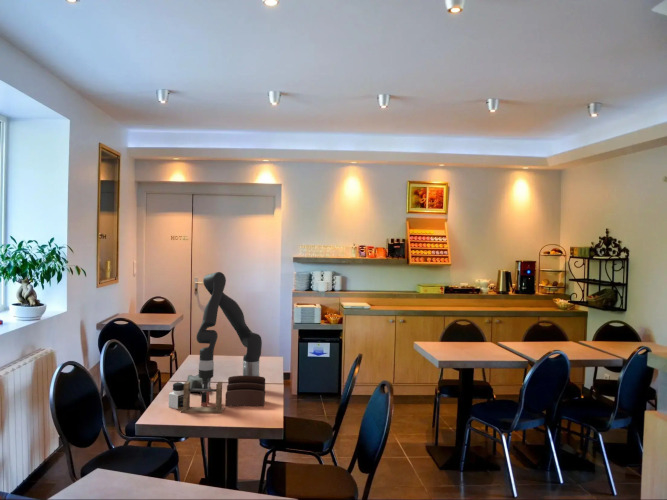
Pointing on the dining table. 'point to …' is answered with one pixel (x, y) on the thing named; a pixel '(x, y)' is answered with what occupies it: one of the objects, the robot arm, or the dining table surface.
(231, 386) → the letter holder
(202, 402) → the pink u-shaped bracket
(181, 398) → the medicine bottle
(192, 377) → the rock
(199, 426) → the dining table surface
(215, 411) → the rail stand
